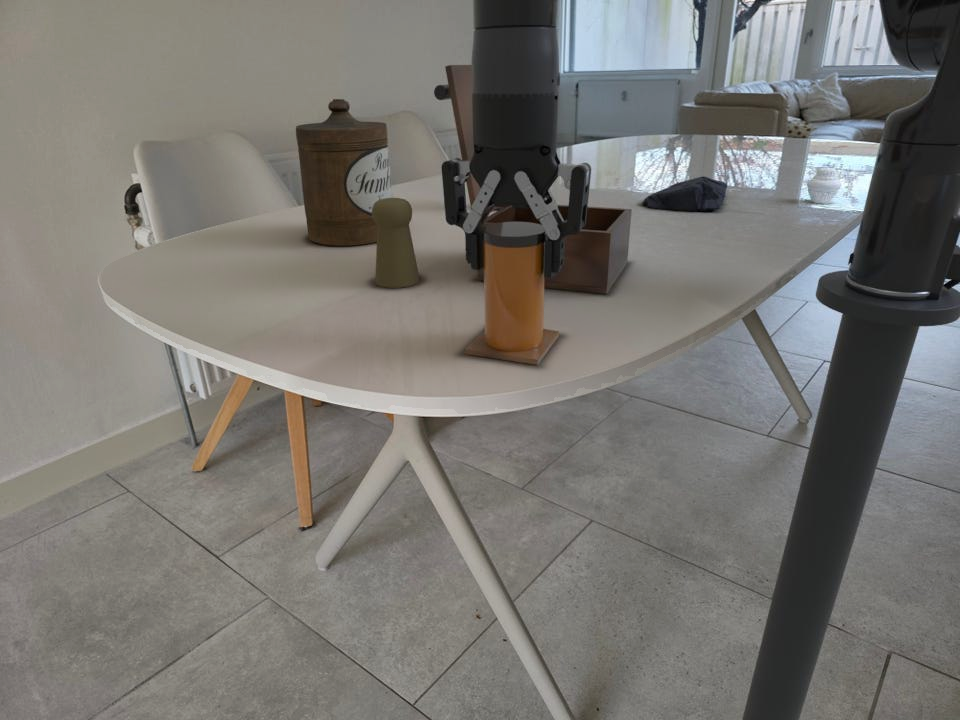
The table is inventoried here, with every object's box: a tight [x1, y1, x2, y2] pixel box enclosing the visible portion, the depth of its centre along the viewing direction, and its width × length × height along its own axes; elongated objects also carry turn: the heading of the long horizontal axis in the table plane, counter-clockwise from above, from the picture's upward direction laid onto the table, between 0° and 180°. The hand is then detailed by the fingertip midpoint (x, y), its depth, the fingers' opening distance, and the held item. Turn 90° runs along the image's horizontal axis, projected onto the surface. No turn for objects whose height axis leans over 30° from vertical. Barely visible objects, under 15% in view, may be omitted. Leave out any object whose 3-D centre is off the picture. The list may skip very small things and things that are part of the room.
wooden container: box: [295, 98, 394, 247], centre depth 103 cm, size 15×15×22 cm
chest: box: [476, 204, 633, 295], centre depth 85 cm, size 18×15×8 cm
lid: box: [433, 64, 499, 213], centre depth 84 cm, size 18×15×5 cm
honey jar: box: [482, 222, 547, 351], centre depth 61 cm, size 6×6×12 cm
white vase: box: [806, 166, 842, 205], centre depth 125 cm, size 6×6×7 cm
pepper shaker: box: [372, 197, 420, 289], centre depth 82 cm, size 6×6×11 cm
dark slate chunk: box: [642, 175, 728, 212], centre depth 129 cm, size 15×22×5 cm
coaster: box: [465, 328, 560, 366], centre depth 64 cm, size 8×8×1 cm
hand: (514, 271), depth 61 cm, fingers open, 7 cm apart
